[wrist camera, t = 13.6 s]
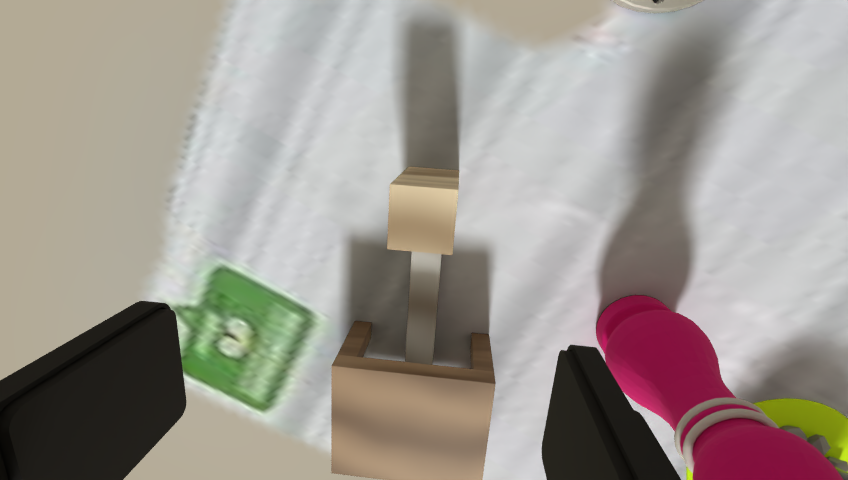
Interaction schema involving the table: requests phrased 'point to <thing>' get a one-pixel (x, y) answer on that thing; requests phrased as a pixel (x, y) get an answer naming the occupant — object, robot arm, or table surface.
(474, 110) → the table surface
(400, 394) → the small wooden table
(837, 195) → the table surface
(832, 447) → the toy cauldron
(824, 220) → the table surface
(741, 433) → the pepper mill
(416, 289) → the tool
